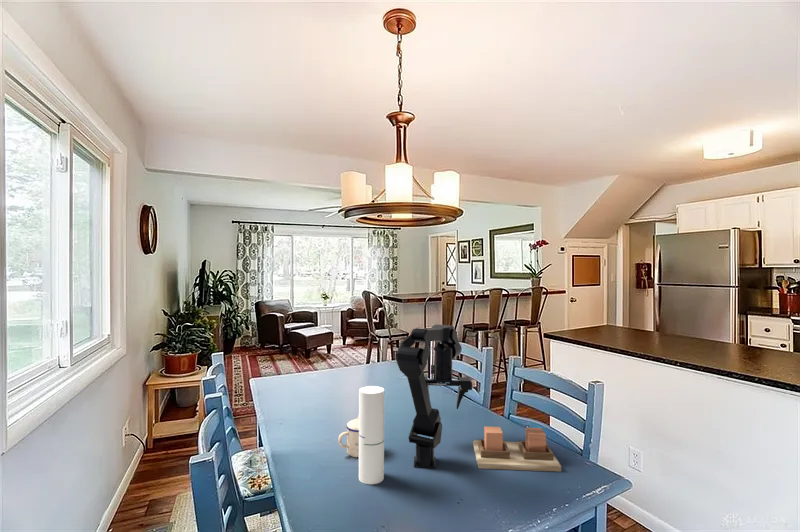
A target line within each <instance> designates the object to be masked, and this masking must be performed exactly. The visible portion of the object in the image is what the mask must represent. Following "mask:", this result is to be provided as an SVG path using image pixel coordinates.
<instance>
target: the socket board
mask: <svg viewBox="0 0 800 532" xmlns="http://www.w3.org/2000/svg"><path fill="white" fill-rule="evenodd" d="M472 446H473V450H474V455H475V458H476V463H477V466H478V469H483V470H484V469H487V470H489V469H490V470H508V471H509V470H510V471H511V470H512V471H518V470H519V471H531V472H533V471H534V472H535V471H537V472H538V471H539V472H557V473H558V472H560V473H561V472H562V465H561V463H560V462H559V460H558V459H557V457H556V456H555V453H554V452H553V451H552V449H551V448H550V446H549V444H548V443H547V435H546V432H545V431H544V430H543V429H542V427H525V440H518V441H506V440H505V439H503V451H495V450H485V449H484V438H483V439H479V438H478V439H477V440H473V442H472Z"/></svg>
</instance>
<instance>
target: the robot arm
mask: <svg viewBox="0 0 800 532" xmlns="http://www.w3.org/2000/svg"><path fill="white" fill-rule="evenodd" d="M430 342H435V343H436V345H435V346H434V348H433V351H434V352H435V353H434V364H430V375H432V376H433V375H434V379H429V378H428V376H426V375H425V371H424V370H425V368H426V366H427V364H428V359H429V357H430V354H431V351H430V346H429V344H430ZM416 343H425V345H424V346H423V347H424V348H423V347H422V348H421V347H415V346H413V345H415V344H416ZM461 353H462V344H461V343H460V342H459V337H458V334H457V330H456V328H455V327H454V325H447V324H437V323H436V324H434V325H432V326H431V327H429V328H421V327H420V328H419V327H415V328H413V329H412V330H411V332H410V335H408V336H407V337H406V338H405V339H403V340H401V342H400V344H399V347H398V348H397V350H396V352H395V361H396V364H397V366H398V369H399V371H400V372H401V373H402V374H404V376H406V379H407V382H408V385H409V389H410V393H411V397H412V402H413V405H414V410H415V413H416V415H415V416H414V419H412V426H411V429H410V431H409V434H408V441H409V443H411V444H415V455H414V458H413V459H414V460H413V467H414V468H430V469H431V468H432V469H435V468H436V467H437V465H436V456H435V449H436V448H437V447H438V445H439V444H440V443H441V439H442V432H443V423H442V421H441V419H442V418H441V415H440V410H439V409H438V408H432V404H431V397H430V391H429V389H430V388H429V387H430V386H440V387H441V386H443V387H444V386H445V387H450V386H451V387H457V394H456V395H457V396H456V410H458V409H459V407H460V405H461V402H462V399H463V398H464V396H465V394H466V393H469V391H472V390H473V382H472V381H473V380H472V379H471V378H470V377H466V376H465V377H464V376H463V377H461V376H460V377H459V379H453V359H454V358H456V357H458V356H459V355H461Z"/></svg>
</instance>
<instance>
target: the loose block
mask: <svg viewBox="0 0 800 532" xmlns="http://www.w3.org/2000/svg"><path fill="white" fill-rule="evenodd" d="M483 427H484V428H483V440H484V449H485V450H495V451H503V440H504V437H503V435H504V434H503V433H504V432H503V430H502V428H501V426H483Z"/></svg>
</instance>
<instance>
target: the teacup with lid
mask: <svg viewBox="0 0 800 532" xmlns="http://www.w3.org/2000/svg"><path fill="white" fill-rule="evenodd" d="M346 430H347V431H343V432H341V433H340V434H339V436H338V438H337V439H338V440H337V441H338V444H339V446H340V447H341V448H343V449H346V453H347V455H348V456H350V457H353V458H357V457H358V458H357V459H359V415H358V416H357V418H355V419H352V420H351V419H350V420H349V421H347V424H346ZM344 436H346V439H347V440H346V444H343V443H342V439H343V437H344Z"/></svg>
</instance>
